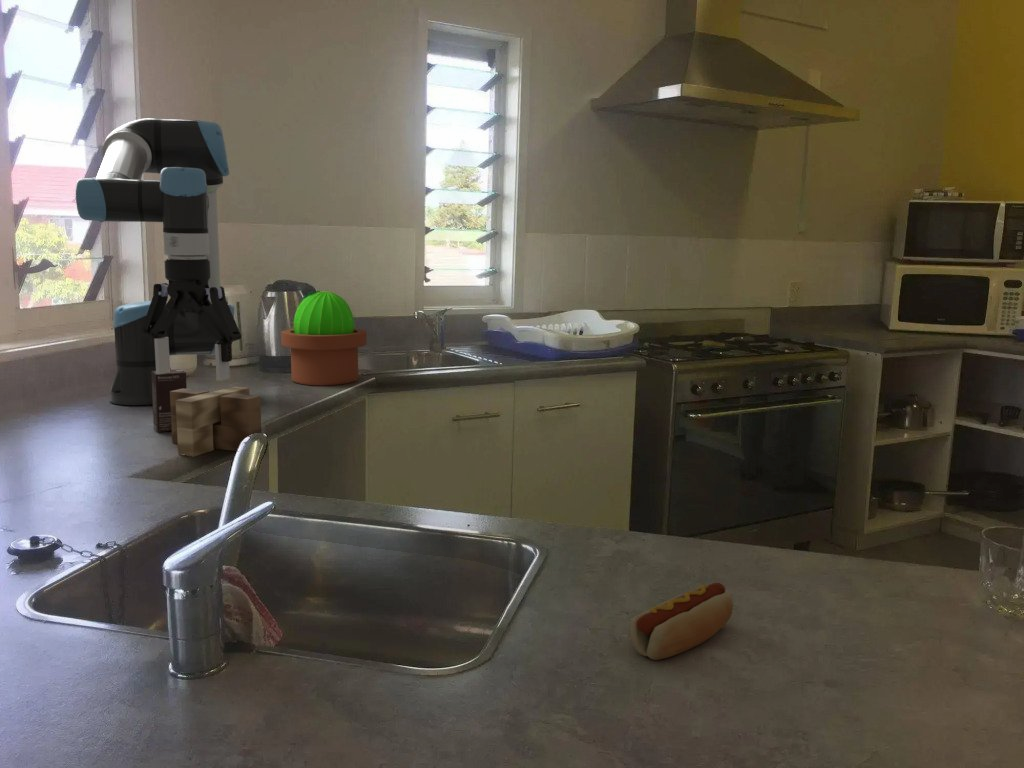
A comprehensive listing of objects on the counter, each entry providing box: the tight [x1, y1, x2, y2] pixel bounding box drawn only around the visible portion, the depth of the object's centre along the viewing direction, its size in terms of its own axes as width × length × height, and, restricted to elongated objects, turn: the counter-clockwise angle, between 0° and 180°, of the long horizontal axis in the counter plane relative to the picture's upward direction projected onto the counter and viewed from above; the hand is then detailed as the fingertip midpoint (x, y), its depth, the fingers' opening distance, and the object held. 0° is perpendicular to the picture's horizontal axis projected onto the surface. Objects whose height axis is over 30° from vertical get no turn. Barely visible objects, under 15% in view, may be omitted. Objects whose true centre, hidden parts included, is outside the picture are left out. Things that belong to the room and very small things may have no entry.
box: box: [151, 368, 188, 433], centre depth 178 cm, size 6×4×12 cm
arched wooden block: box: [176, 386, 250, 458], centre depth 165 cm, size 16×4×10 cm, turn 158°
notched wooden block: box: [170, 388, 262, 452], centre depth 165 cm, size 18×4×10 cm, turn 68°
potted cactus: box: [280, 290, 368, 387], centre depth 238 cm, size 22×22×25 cm
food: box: [629, 582, 734, 661], centre depth 89 cm, size 14×6×5 cm, turn 135°
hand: (192, 376), depth 159 cm, fingers open, 13 cm apart
